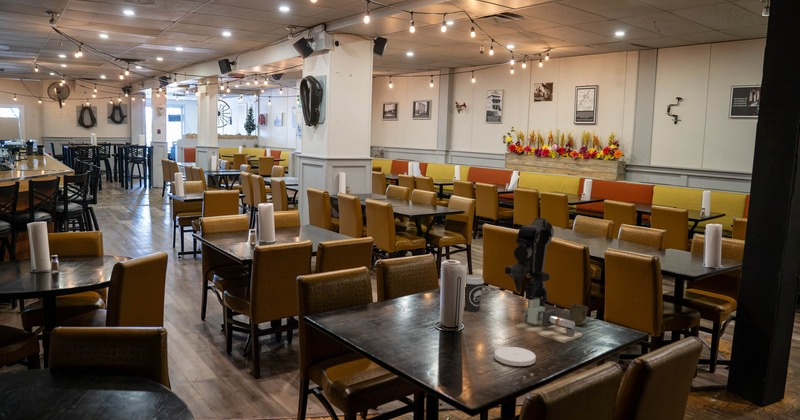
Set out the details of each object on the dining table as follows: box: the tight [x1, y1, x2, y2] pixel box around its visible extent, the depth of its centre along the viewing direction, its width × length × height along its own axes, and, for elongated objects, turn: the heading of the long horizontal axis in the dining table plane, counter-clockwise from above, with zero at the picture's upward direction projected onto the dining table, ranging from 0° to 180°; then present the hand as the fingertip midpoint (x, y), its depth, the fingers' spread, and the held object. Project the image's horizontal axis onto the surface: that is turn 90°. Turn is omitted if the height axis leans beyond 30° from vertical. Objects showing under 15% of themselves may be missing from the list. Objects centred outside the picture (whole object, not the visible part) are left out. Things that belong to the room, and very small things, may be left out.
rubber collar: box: [542, 308, 556, 327], centre depth 230 cm, size 2×6×6 cm, turn 132°
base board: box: [514, 321, 583, 344], centre depth 231 cm, size 23×13×1 cm, turn 42°
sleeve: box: [527, 298, 546, 324], centre depth 234 cm, size 4×6×9 cm, turn 132°
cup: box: [569, 303, 589, 327], centre depth 241 cm, size 8×7×8 cm
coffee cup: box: [464, 274, 485, 313], centre depth 257 cm, size 10×10×15 cm
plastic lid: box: [493, 346, 537, 367], centre depth 199 cm, size 14×14×2 cm
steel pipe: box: [523, 307, 576, 337], centre depth 230 cm, size 22×3×6 cm, turn 42°
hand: (525, 293), depth 238 cm, fingers open, 7 cm apart
